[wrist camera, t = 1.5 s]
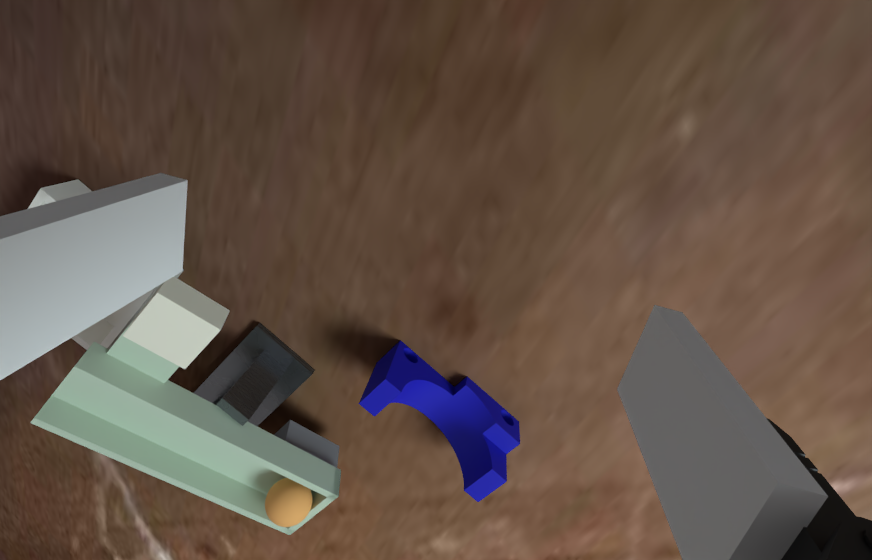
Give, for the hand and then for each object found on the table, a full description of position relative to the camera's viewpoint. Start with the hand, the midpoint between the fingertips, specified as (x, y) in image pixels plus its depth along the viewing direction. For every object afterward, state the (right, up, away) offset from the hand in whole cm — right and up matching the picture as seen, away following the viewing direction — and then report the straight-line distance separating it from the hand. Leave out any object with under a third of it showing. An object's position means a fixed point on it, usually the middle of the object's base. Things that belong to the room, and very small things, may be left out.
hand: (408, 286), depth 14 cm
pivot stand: (-15, -9, +31) cm, 35 cm away
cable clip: (+2, -9, +29) cm, 30 cm away
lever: (-14, -7, +25) cm, 30 cm away
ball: (-10, -17, +25) cm, 32 cm away
